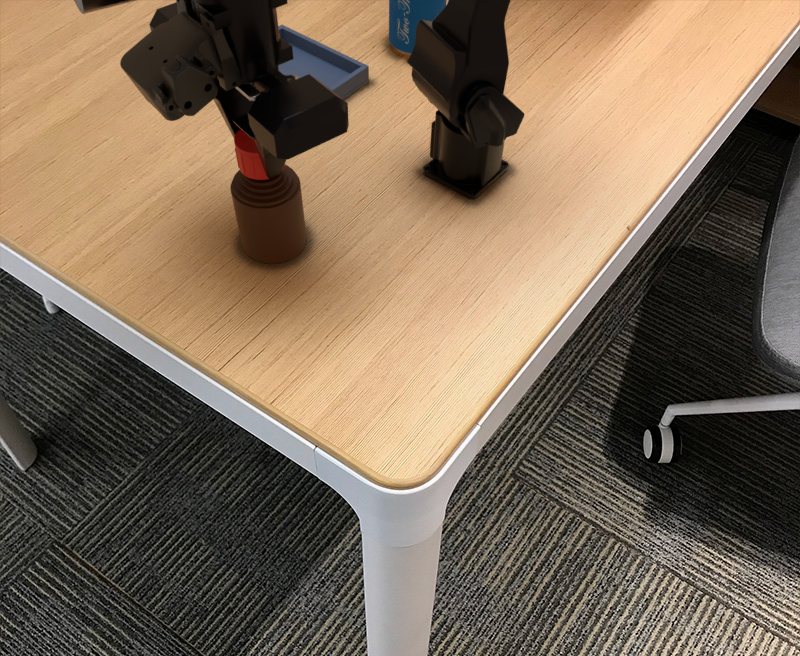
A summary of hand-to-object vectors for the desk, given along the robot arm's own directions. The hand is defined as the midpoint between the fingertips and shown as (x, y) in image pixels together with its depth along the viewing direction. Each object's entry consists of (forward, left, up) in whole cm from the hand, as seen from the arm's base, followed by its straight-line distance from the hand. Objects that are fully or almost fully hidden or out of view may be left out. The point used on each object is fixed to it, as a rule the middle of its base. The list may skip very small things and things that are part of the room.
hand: (260, 164), depth 64 cm
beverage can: (+10, -35, -9) cm, 37 cm away
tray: (+16, -20, -9) cm, 27 cm away
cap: (0, 0, +2) cm, 2 cm away
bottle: (0, 0, -9) cm, 9 cm away
